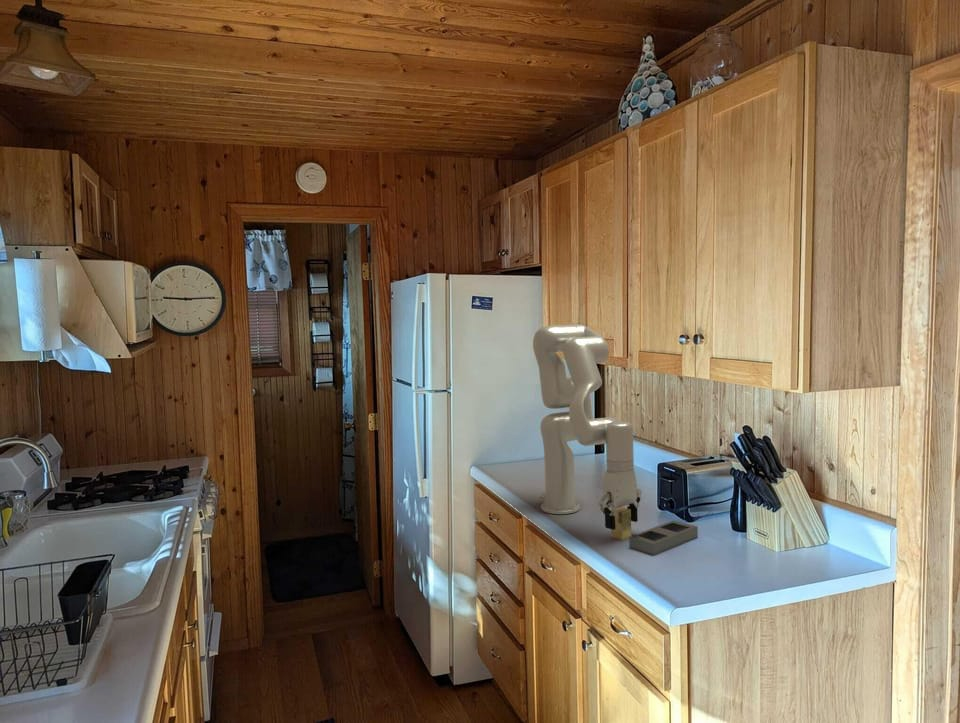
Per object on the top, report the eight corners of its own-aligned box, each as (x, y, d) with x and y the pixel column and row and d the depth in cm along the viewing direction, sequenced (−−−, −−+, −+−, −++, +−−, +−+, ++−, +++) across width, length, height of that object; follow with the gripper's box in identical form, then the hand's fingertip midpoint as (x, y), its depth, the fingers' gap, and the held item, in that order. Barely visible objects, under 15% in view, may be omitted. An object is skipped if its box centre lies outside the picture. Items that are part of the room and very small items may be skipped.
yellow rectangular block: (611, 536, 194) (610, 509, 193) (620, 533, 197) (619, 506, 196) (622, 540, 191) (621, 512, 190) (631, 536, 193) (630, 509, 193)
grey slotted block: (629, 547, 185) (629, 536, 185) (673, 530, 198) (673, 520, 197) (653, 555, 179) (653, 544, 179) (697, 537, 191) (697, 526, 191)
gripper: (629, 458, 200) (630, 515, 201) (589, 468, 189) (591, 528, 191) (650, 462, 194) (651, 520, 196) (610, 472, 184) (611, 534, 185)
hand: (621, 524), depth 193 cm, fingers open, 9 cm apart
